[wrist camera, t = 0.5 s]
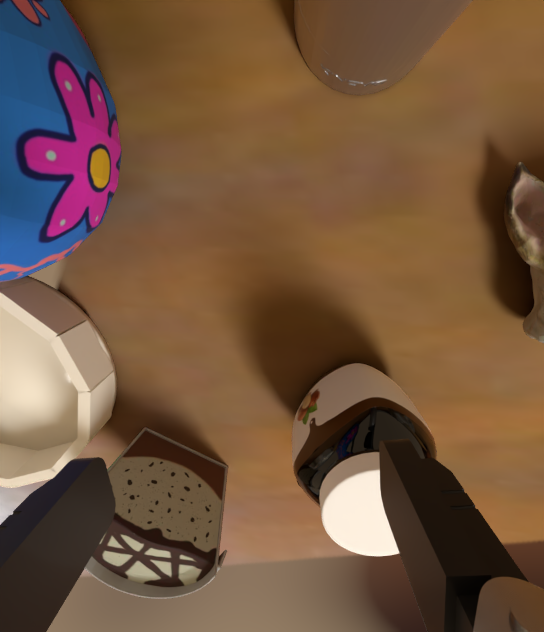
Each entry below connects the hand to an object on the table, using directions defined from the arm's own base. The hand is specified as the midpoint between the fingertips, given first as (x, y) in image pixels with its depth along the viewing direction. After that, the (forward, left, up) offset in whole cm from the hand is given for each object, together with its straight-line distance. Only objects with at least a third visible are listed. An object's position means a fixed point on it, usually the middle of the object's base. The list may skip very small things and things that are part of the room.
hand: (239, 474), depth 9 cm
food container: (+20, -6, -19) cm, 28 cm away
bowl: (+12, -22, -19) cm, 31 cm away
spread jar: (+10, +10, -19) cm, 24 cm away
